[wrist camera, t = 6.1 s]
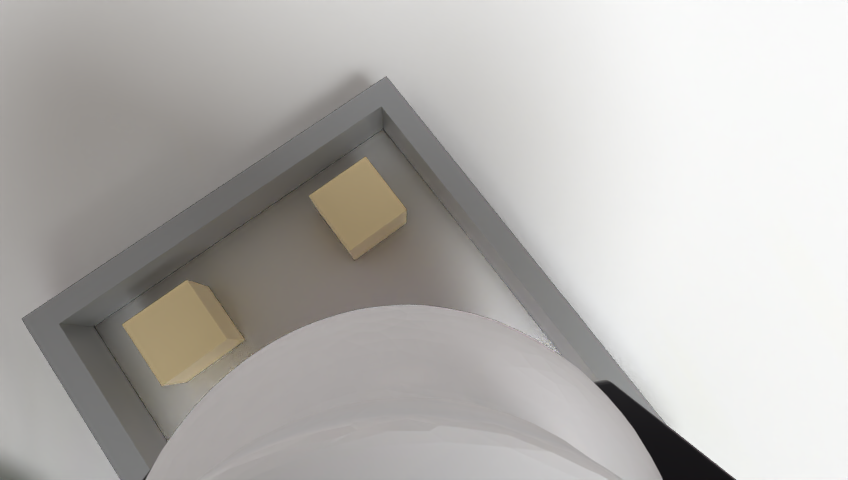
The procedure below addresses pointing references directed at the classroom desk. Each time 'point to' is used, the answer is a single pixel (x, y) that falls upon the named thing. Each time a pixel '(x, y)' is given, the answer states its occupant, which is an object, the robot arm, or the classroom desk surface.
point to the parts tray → (234, 206)
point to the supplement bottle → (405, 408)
